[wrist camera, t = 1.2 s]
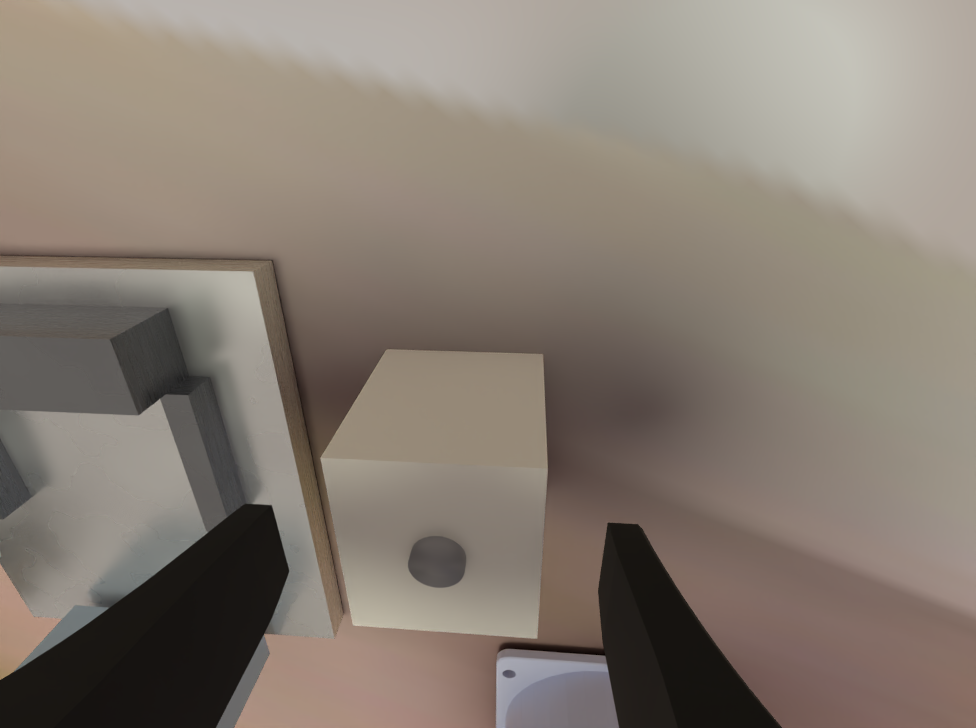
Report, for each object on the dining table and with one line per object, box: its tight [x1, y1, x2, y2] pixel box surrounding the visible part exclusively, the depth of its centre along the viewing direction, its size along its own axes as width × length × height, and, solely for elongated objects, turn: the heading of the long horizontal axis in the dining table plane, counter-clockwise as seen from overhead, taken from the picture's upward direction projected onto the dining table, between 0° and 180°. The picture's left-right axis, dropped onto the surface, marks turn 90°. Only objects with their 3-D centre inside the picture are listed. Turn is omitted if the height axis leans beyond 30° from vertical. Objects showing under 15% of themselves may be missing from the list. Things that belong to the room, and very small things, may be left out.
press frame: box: [0, 256, 344, 639], centre depth 15 cm, size 14×12×3 cm
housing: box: [321, 349, 548, 639], centre depth 13 cm, size 5×4×5 cm
